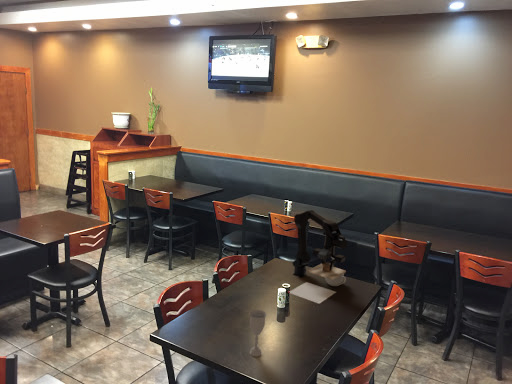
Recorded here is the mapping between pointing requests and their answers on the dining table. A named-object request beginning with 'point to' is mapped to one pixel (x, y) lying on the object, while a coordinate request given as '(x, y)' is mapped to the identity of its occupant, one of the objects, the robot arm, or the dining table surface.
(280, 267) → the dining table surface
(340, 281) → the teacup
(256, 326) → the chalice
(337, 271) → the lid
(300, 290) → the mat
